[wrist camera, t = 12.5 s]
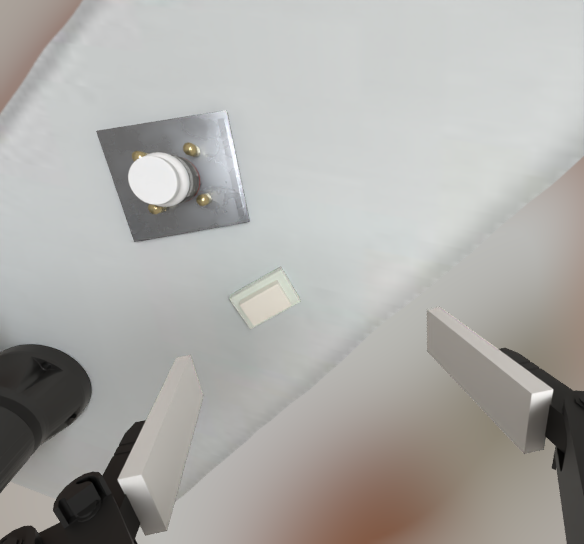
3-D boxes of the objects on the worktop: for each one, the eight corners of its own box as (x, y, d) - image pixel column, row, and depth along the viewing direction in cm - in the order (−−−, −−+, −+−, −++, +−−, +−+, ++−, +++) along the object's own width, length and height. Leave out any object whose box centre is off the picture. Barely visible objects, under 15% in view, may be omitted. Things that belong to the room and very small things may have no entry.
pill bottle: (156, 199, 39) (122, 206, 29) (155, 153, 37) (119, 145, 27) (200, 204, 39) (181, 213, 30) (202, 159, 38) (182, 154, 28)
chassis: (137, 240, 41) (124, 246, 37) (101, 132, 37) (81, 126, 33) (249, 220, 42) (248, 224, 38) (227, 112, 37) (223, 104, 33)
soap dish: (250, 324, 47) (250, 335, 44) (230, 295, 45) (227, 304, 42) (299, 297, 46) (302, 306, 43) (280, 266, 44) (282, 273, 41)
